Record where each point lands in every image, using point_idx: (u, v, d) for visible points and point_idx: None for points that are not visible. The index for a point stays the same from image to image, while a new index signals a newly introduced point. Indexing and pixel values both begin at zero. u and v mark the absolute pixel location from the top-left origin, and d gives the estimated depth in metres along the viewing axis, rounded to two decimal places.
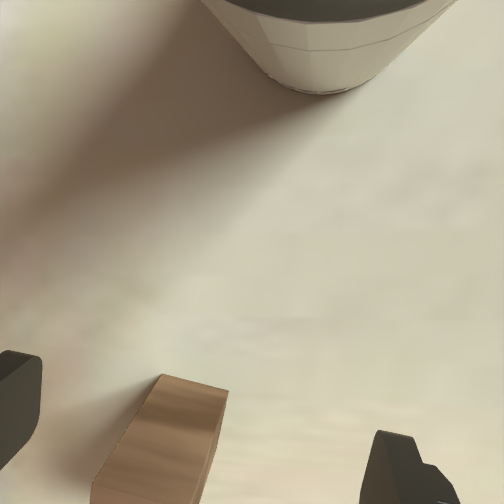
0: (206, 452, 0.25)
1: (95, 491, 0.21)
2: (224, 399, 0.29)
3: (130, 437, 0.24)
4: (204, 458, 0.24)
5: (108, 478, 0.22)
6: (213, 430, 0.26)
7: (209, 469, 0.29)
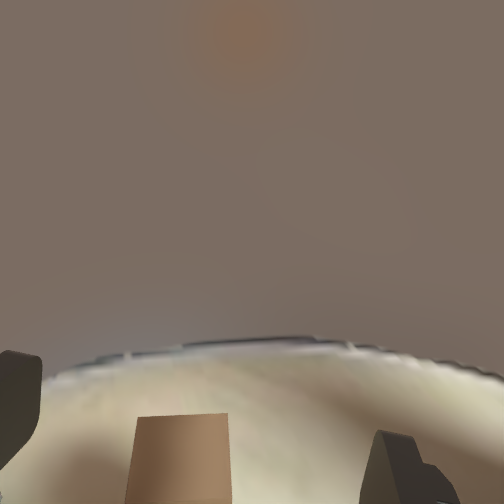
0: None
1: (219, 416, 0.24)
2: None
3: None
4: None
5: None
6: None
7: None
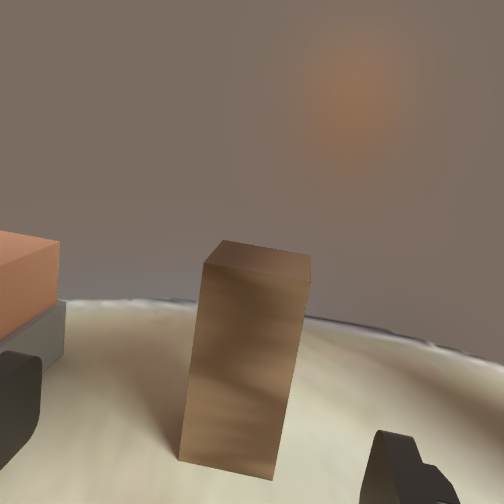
0: (294, 364, 0.20)
1: (302, 255, 0.24)
2: (275, 460, 0.22)
3: None
4: (296, 355, 0.20)
5: None
6: (287, 401, 0.21)
7: (187, 419, 0.22)
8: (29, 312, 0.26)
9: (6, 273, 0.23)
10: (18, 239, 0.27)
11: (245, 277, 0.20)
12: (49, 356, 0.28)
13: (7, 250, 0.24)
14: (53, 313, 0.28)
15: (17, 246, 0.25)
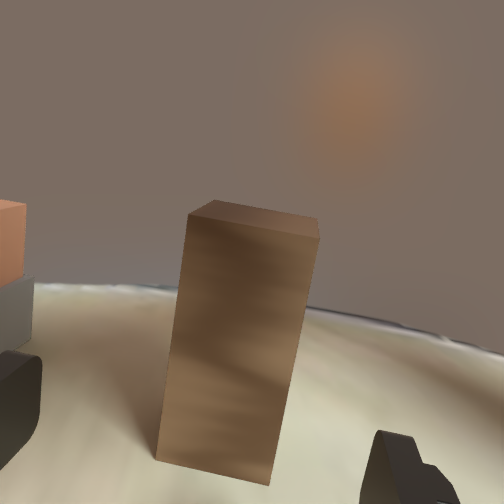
0: None
1: (308, 217, 0.20)
2: (273, 461, 0.18)
3: None
4: (300, 330, 0.16)
5: None
6: None
7: (167, 409, 0.18)
8: None
9: None
10: None
11: (239, 232, 0.16)
12: (12, 338, 0.24)
13: None
14: (18, 287, 0.24)
15: None
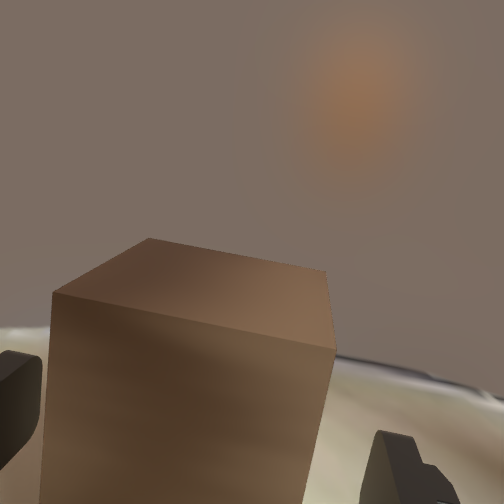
0: None
1: (309, 271, 0.11)
2: None
3: None
4: None
5: None
6: None
7: None
8: None
9: None
10: None
11: (161, 331, 0.07)
12: None
13: None
14: None
15: None
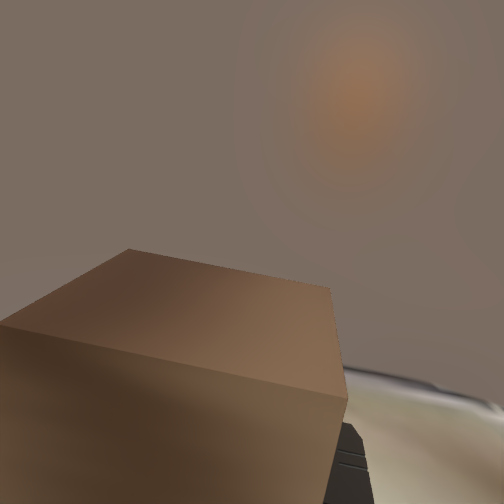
0: None
1: (311, 287, 0.10)
2: None
3: None
4: None
5: None
6: None
7: None
8: None
9: None
10: None
11: (130, 373, 0.06)
12: None
13: None
14: None
15: None
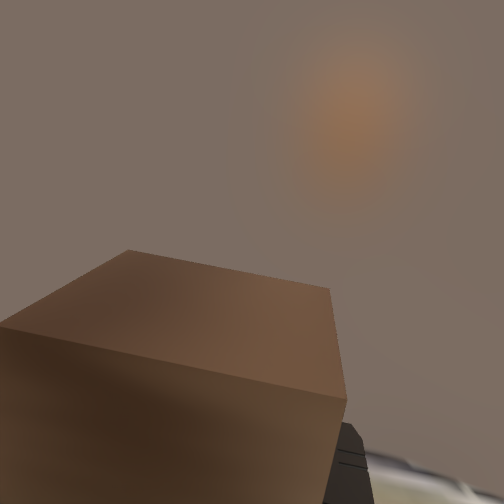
0: None
1: (311, 288, 0.10)
2: None
3: None
4: None
5: None
6: None
7: None
8: None
9: None
10: None
11: (129, 374, 0.06)
12: None
13: None
14: None
15: None
